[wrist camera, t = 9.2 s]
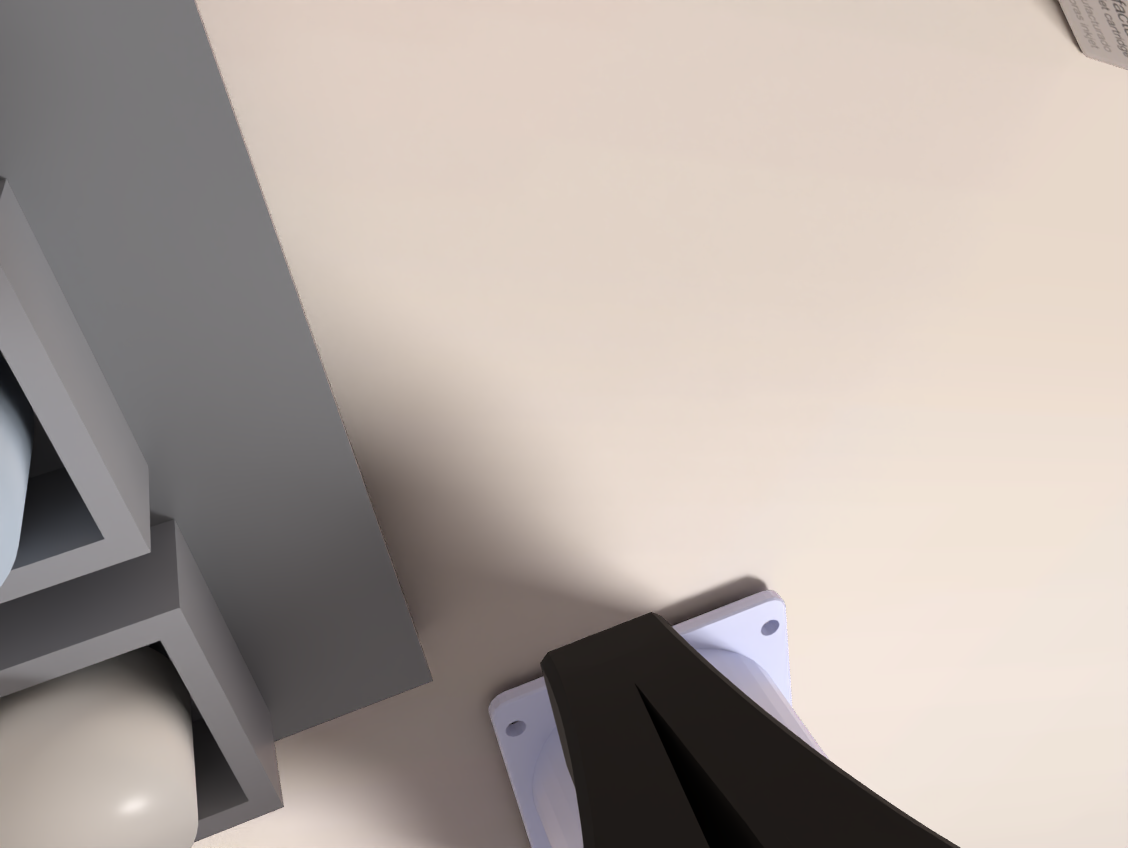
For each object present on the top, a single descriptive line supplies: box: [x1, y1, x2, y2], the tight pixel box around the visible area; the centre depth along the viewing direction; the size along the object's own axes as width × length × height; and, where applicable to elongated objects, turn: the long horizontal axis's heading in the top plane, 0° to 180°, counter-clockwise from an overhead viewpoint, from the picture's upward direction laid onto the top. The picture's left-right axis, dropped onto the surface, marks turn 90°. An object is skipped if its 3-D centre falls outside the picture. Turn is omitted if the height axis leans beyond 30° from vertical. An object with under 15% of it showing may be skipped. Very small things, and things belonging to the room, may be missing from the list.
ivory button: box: [0, 646, 198, 848], centre depth 18 cm, size 4×4×3 cm
